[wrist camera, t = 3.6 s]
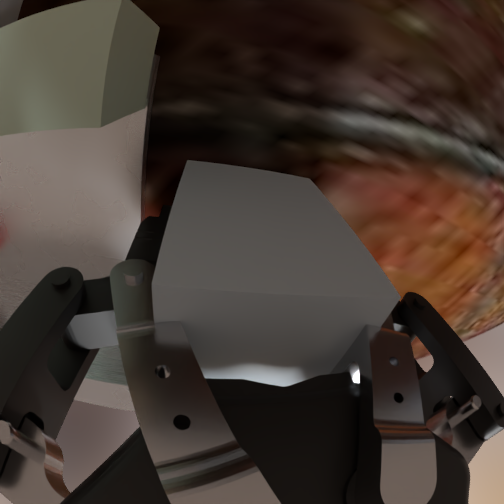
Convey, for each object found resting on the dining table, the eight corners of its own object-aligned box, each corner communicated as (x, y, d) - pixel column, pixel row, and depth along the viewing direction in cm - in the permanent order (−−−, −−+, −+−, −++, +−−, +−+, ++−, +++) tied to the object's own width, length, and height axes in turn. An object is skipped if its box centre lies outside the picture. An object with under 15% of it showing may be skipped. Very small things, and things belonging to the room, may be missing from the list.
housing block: (309, 178, 11) (401, 297, 5) (279, 272, 14) (318, 401, 8) (187, 160, 10) (151, 284, 4) (178, 263, 13) (164, 404, 7)
